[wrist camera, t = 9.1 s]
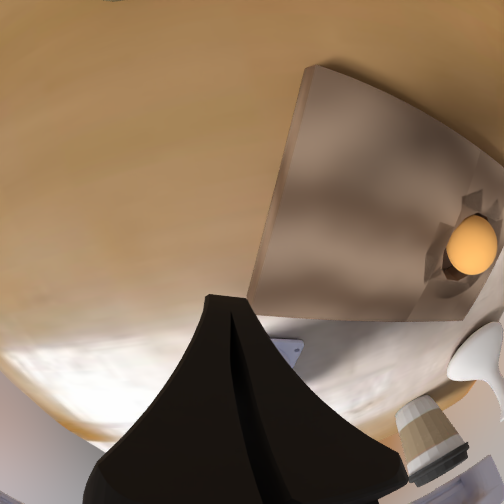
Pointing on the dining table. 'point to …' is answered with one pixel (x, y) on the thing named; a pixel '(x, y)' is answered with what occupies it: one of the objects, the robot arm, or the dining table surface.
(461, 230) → the ball
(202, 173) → the dining table surface
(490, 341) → the flower in vase
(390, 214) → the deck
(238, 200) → the dining table surface
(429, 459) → the coffee cup
